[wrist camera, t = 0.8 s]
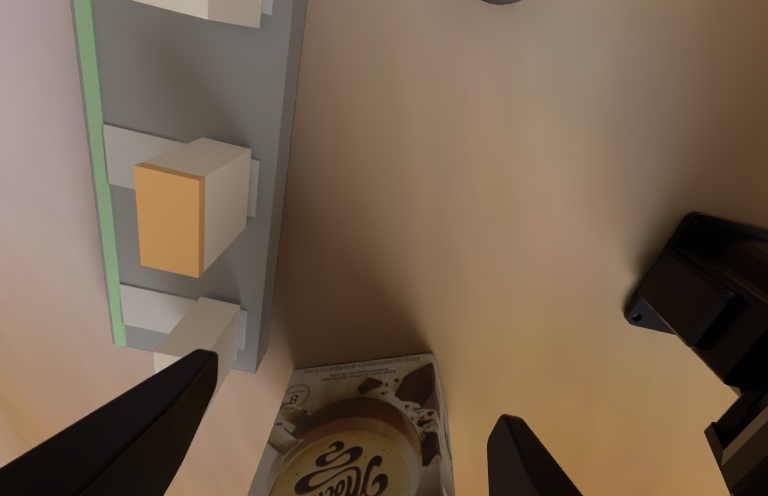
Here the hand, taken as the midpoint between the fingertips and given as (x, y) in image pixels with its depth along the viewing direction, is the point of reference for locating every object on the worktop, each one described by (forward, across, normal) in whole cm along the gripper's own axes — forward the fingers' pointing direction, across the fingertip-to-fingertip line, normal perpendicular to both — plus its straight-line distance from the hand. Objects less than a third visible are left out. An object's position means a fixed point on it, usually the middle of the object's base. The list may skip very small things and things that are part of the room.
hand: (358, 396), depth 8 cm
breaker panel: (+12, +9, 0) cm, 15 cm away
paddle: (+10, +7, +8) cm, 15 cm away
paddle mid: (+10, +7, 0) cm, 12 cm away
